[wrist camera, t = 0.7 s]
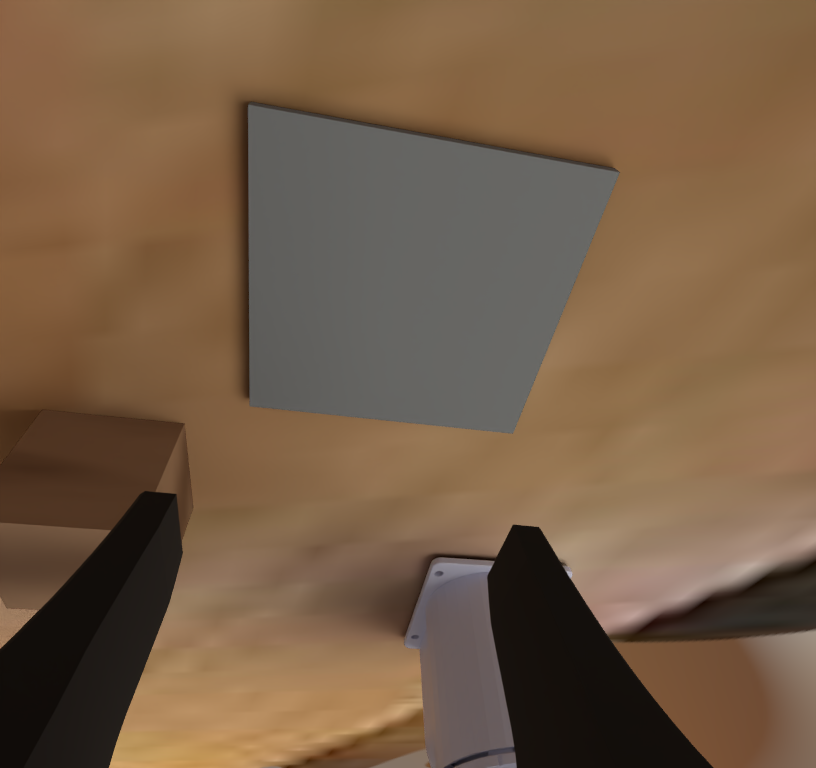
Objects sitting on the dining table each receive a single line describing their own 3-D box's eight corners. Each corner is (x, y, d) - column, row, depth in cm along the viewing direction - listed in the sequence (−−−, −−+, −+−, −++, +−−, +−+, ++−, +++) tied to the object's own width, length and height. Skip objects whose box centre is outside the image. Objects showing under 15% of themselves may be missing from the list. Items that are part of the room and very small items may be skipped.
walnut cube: (193, 505, 26) (156, 615, 21) (71, 496, 25) (6, 608, 21) (184, 422, 22) (138, 532, 18) (43, 408, 22) (-41, 519, 17)
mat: (511, 427, 23) (512, 433, 23) (251, 399, 22) (249, 406, 21) (615, 168, 16) (619, 172, 16) (251, 101, 15) (247, 104, 15)
